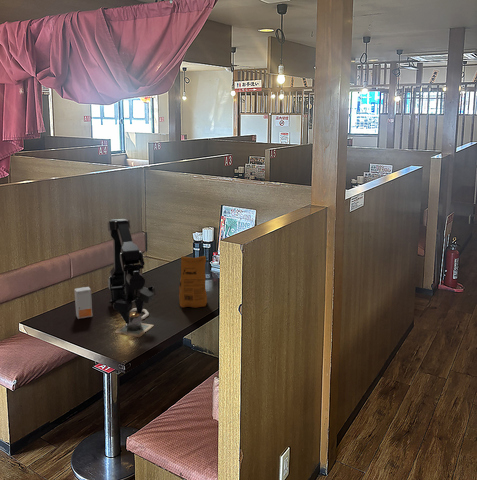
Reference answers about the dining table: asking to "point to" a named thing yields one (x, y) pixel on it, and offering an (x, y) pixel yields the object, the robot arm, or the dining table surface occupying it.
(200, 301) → the coffee package
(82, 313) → the skincare box
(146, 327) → the coaster board
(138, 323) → the round spotlight head
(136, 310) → the collar
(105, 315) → the dining table surface
